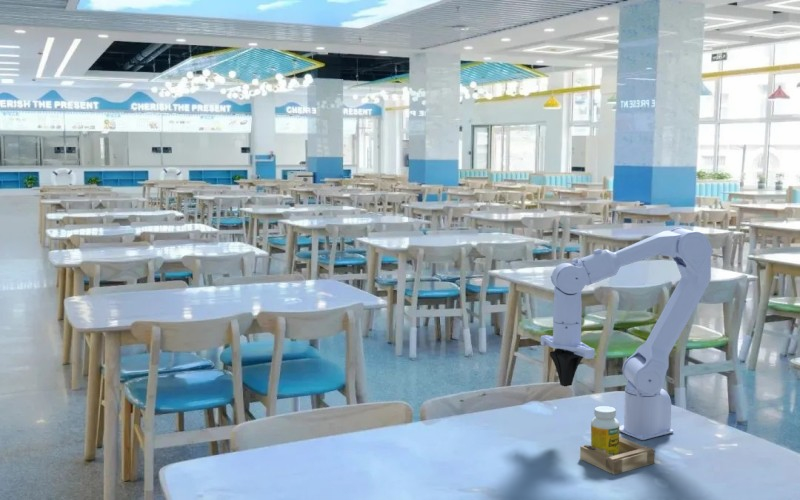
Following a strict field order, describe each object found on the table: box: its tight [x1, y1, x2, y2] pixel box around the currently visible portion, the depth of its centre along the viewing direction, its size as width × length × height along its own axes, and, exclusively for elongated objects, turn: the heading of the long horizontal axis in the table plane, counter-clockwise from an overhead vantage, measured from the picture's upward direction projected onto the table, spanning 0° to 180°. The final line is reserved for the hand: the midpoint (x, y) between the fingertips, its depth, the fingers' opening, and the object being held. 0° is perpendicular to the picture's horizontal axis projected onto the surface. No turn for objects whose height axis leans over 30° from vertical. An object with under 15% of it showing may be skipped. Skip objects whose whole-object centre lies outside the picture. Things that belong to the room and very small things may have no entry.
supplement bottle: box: [590, 405, 620, 456], centre depth 160 cm, size 5×5×10 cm
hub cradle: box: [579, 436, 656, 475], centre depth 158 cm, size 10×9×3 cm
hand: (566, 385), depth 172 cm, fingers closed
